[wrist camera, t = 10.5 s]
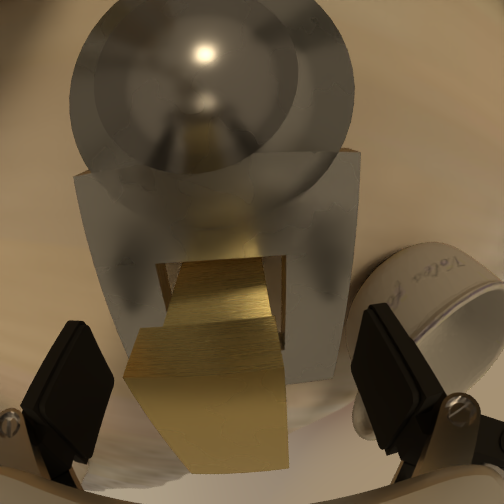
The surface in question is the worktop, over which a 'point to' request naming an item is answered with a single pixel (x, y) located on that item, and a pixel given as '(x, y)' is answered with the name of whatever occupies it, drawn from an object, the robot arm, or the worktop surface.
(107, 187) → the grey knob latch
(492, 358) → the teacup
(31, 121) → the worktop surface
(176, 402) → the wedge pin
